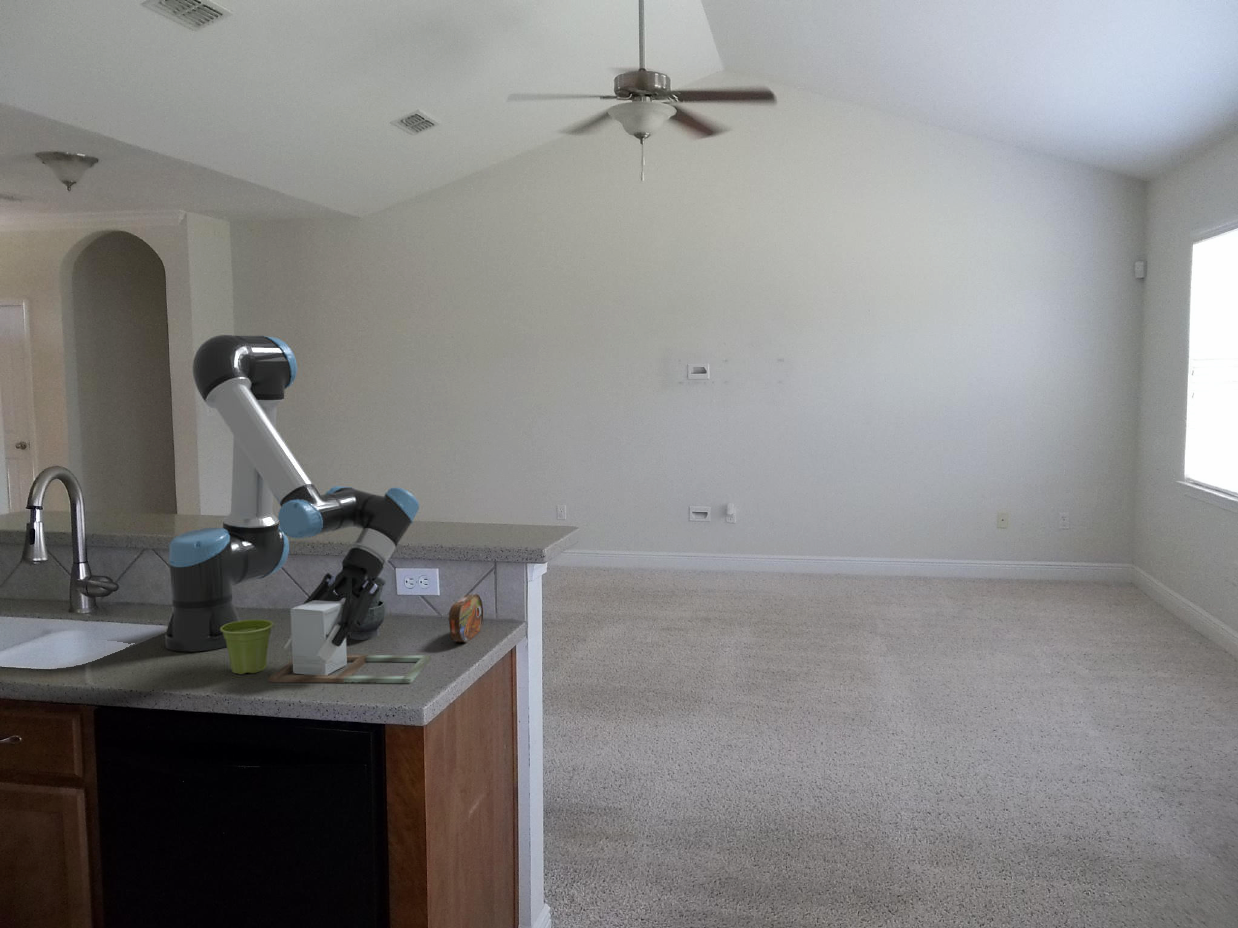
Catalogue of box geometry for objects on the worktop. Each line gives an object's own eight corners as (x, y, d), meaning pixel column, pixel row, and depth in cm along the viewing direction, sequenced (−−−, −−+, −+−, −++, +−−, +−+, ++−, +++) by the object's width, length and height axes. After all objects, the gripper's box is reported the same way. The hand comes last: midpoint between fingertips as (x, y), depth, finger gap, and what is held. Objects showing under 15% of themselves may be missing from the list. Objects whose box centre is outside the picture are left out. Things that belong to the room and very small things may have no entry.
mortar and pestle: (363, 644, 198) (360, 587, 197) (331, 638, 203) (329, 583, 202) (401, 631, 208) (399, 577, 207) (370, 625, 213) (368, 573, 211)
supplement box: (325, 677, 177) (322, 610, 176) (291, 673, 179) (288, 608, 178) (348, 665, 184) (345, 601, 183) (316, 662, 186) (313, 598, 185)
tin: (461, 647, 195) (460, 607, 195) (447, 646, 196) (445, 606, 195) (485, 627, 210) (484, 590, 209) (471, 627, 211) (470, 589, 210)
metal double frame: (269, 681, 175) (268, 677, 175) (299, 658, 189) (299, 654, 189) (410, 682, 174) (410, 678, 173) (430, 659, 187) (430, 655, 187)
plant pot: (250, 659, 189) (247, 616, 188) (286, 665, 185) (283, 621, 184) (211, 673, 181) (209, 629, 180) (248, 680, 176) (245, 634, 176)
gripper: (416, 573, 187) (356, 674, 175) (343, 561, 199) (282, 656, 187) (395, 551, 182) (331, 654, 170) (321, 540, 194) (257, 636, 182)
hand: (305, 655), depth 179 cm, fingers closed on supplement box, 9 cm apart
